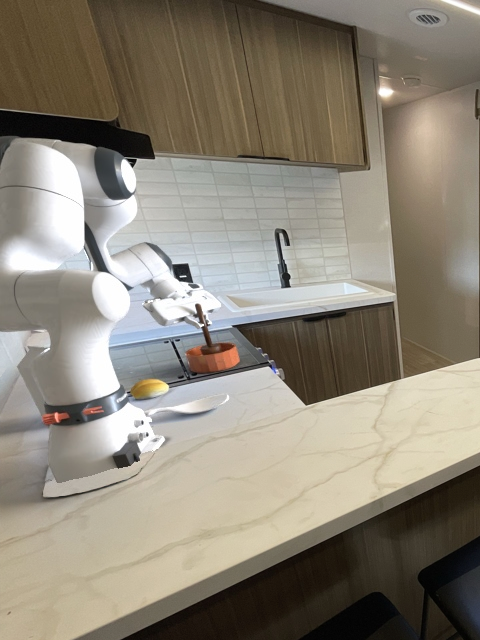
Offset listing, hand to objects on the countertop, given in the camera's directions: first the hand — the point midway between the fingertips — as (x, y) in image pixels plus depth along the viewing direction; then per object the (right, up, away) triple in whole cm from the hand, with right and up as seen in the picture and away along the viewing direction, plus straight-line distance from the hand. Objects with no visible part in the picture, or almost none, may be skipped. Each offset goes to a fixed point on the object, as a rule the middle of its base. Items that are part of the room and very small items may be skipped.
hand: (205, 326), depth 131 cm
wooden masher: (-1, -9, +4) cm, 9 cm away
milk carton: (-14, -27, -28) cm, 41 cm away
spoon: (+10, -28, -30) cm, 42 cm away
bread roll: (-5, -22, -15) cm, 27 cm away
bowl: (-1, -13, +6) cm, 14 cm away
